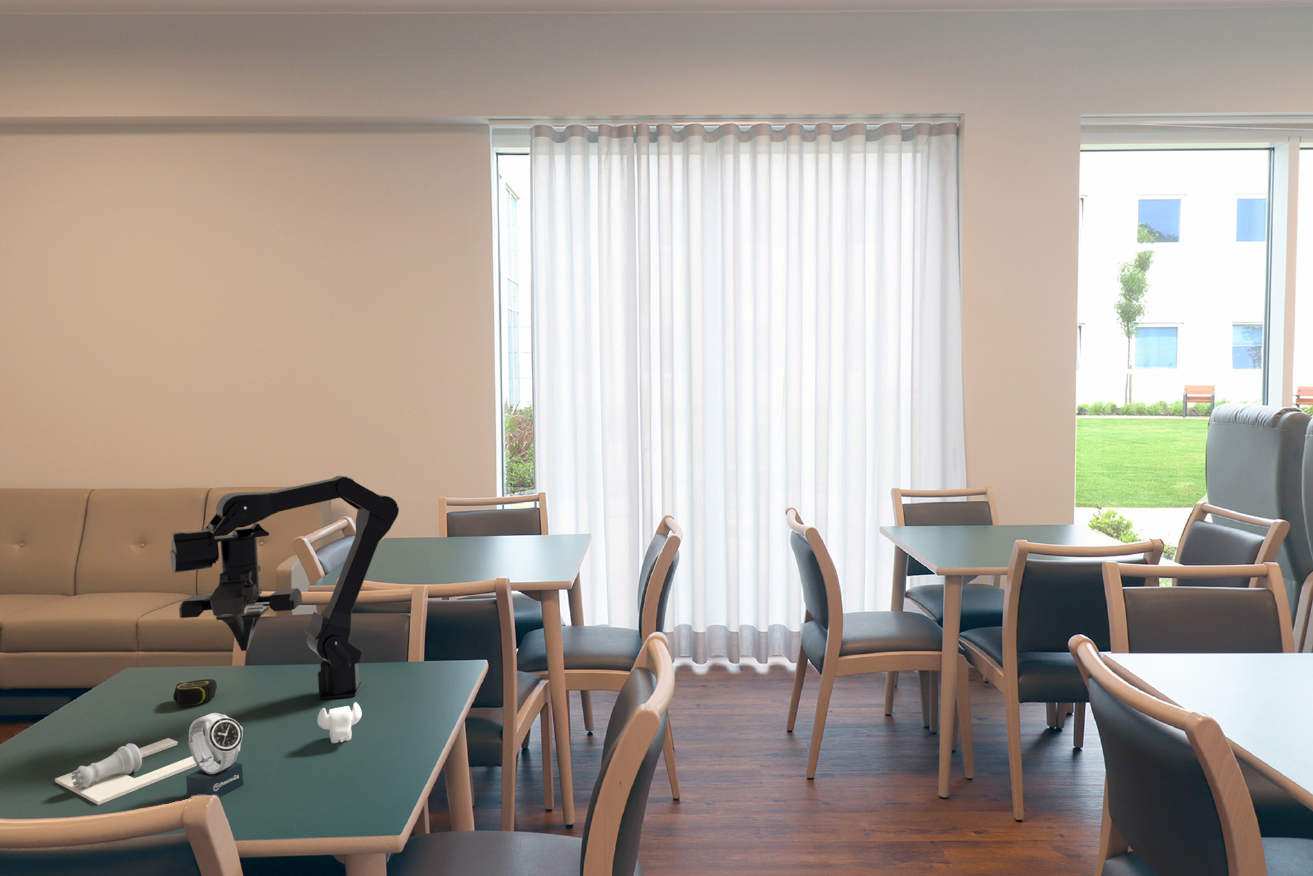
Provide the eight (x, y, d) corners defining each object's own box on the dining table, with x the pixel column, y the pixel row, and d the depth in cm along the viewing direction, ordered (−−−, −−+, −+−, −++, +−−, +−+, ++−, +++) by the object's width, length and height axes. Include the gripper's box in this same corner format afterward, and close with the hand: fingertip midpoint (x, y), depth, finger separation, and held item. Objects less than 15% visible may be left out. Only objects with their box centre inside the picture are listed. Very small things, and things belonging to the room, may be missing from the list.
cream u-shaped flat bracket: (168, 741, 130) (168, 738, 130) (213, 759, 123) (213, 755, 123) (55, 782, 117) (54, 778, 117) (98, 805, 109) (98, 801, 109)
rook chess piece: (124, 748, 121) (65, 771, 114) (135, 737, 119) (75, 759, 112) (134, 775, 120) (75, 799, 113) (146, 764, 118) (86, 788, 111)
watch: (217, 805, 108) (212, 727, 108) (179, 795, 111) (174, 719, 111) (253, 787, 113) (248, 712, 113) (215, 777, 117) (211, 705, 116)
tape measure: (218, 693, 152) (216, 675, 152) (213, 705, 146) (212, 686, 146) (177, 700, 150) (176, 681, 150) (171, 712, 143) (170, 692, 143)
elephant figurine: (319, 754, 123) (317, 717, 123) (317, 735, 131) (316, 700, 130) (365, 745, 126) (363, 708, 126) (360, 727, 134) (359, 693, 133)
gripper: (162, 577, 129) (167, 669, 130) (282, 569, 132) (287, 660, 133) (190, 564, 140) (195, 649, 141) (300, 557, 143) (304, 641, 144)
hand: (244, 650), depth 139 cm, fingers closed
